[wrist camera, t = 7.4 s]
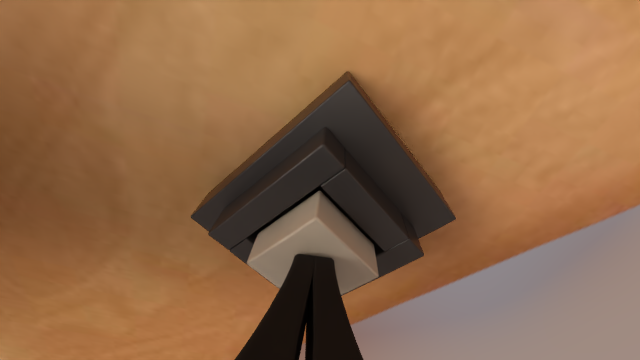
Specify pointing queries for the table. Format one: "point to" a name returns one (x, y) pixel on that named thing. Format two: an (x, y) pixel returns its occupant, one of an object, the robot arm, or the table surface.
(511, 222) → the table surface
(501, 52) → the table surface
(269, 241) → the cream rounded-edge block
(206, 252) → the table surface
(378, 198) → the black block
